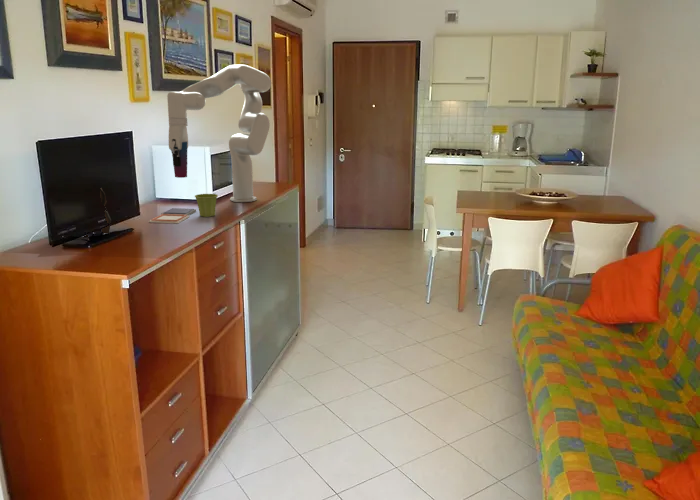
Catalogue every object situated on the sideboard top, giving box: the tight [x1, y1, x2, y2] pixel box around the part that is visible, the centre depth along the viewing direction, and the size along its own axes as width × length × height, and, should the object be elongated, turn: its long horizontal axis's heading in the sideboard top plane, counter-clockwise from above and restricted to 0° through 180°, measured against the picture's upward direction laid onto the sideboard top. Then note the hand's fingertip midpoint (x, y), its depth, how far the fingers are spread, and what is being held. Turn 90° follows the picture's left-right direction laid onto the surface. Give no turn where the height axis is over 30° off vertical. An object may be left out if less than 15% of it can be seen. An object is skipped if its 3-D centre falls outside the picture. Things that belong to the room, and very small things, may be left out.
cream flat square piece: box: [148, 214, 190, 224], centre depth 230 cm, size 12×12×1 cm
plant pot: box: [194, 193, 219, 218], centre depth 237 cm, size 9×9×9 cm
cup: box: [173, 142, 188, 179], centre depth 241 cm, size 7×7×15 cm
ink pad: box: [160, 207, 197, 216], centre depth 242 cm, size 11×11×1 cm
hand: (180, 164), depth 242 cm, fingers closed on cup, 6 cm apart
